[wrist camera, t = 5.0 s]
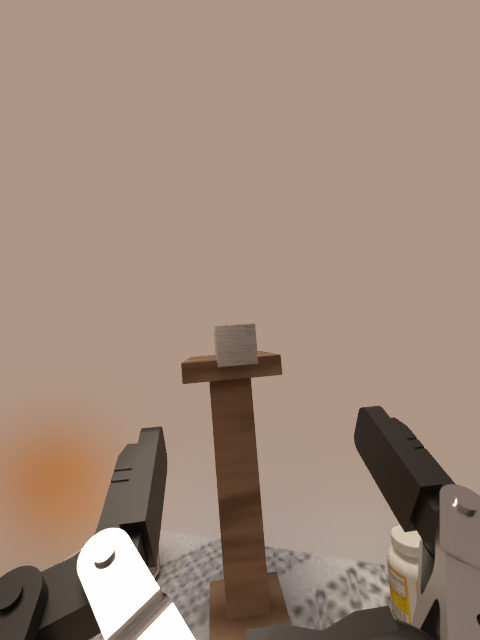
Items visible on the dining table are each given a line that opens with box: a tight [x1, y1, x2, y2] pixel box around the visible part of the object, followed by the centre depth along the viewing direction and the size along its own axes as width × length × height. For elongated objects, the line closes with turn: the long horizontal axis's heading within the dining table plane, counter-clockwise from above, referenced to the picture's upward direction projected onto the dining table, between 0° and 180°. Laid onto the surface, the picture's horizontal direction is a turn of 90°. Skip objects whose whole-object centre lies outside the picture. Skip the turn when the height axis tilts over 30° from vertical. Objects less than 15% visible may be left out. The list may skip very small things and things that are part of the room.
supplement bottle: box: [387, 525, 421, 625], centre depth 35 cm, size 5×5×10 cm
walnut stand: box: [181, 351, 291, 640], centre depth 36 cm, size 13×10×32 cm
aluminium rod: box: [214, 324, 258, 367], centre depth 33 cm, size 20×3×3 cm, turn 5°
